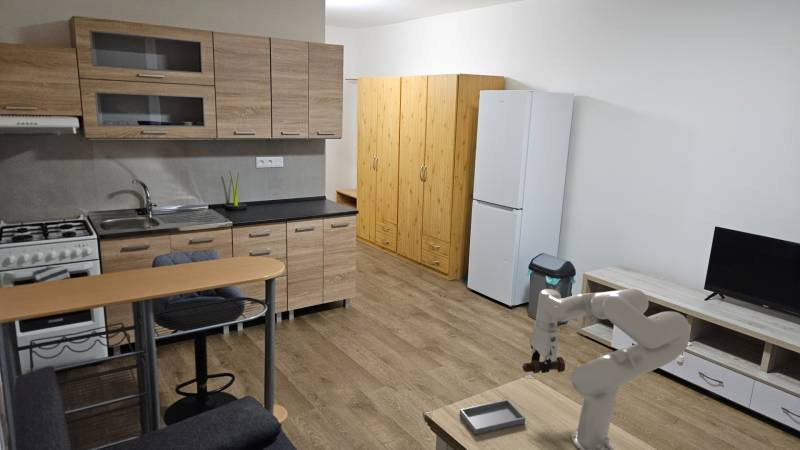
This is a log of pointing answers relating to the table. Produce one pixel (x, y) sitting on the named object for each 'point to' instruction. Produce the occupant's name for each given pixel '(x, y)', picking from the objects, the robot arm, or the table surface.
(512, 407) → the parts tray
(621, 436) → the table surface
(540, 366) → the bolt
